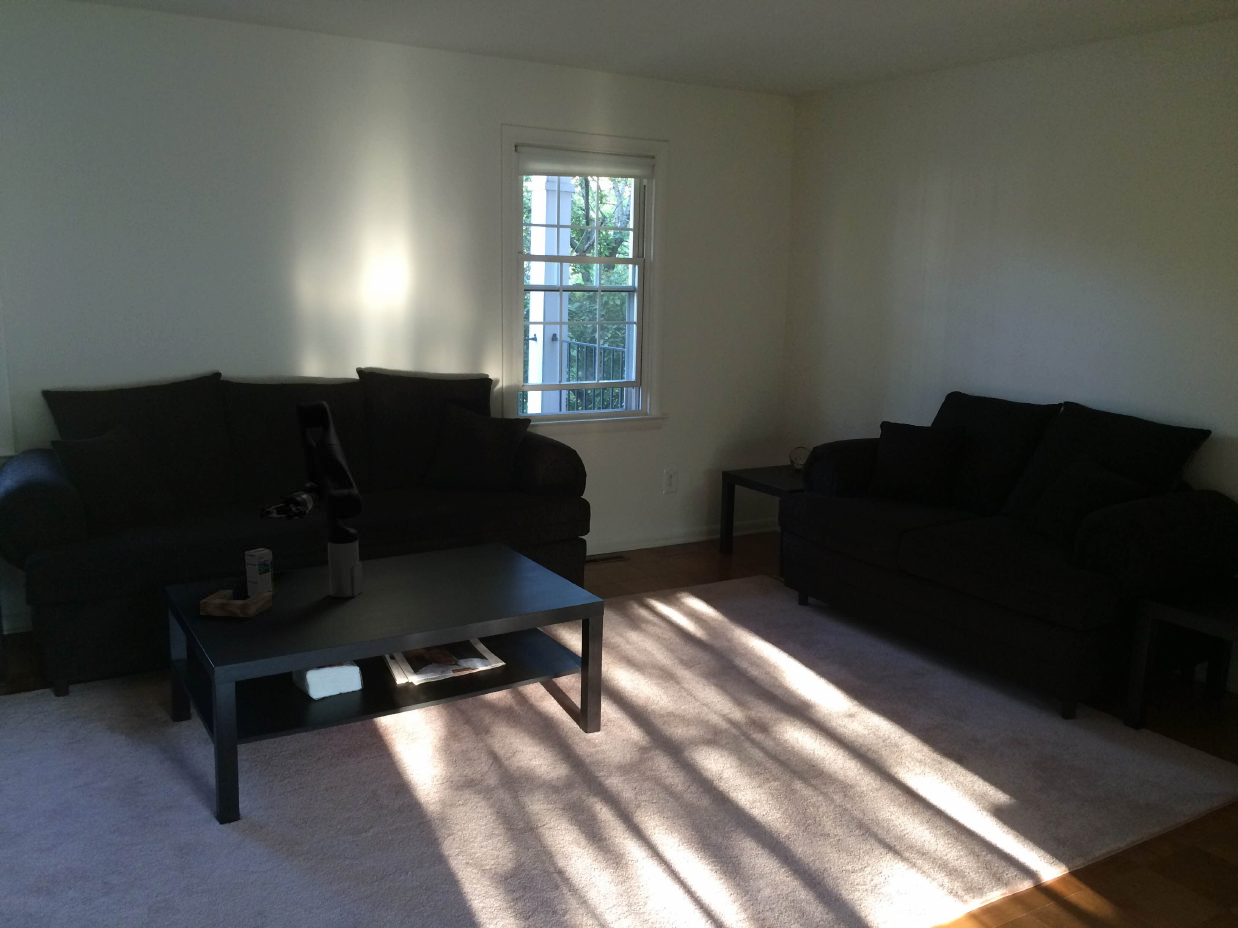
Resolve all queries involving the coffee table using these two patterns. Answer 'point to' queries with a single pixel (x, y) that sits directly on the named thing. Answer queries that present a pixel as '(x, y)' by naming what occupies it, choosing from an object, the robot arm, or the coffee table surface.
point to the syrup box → (259, 571)
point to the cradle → (235, 604)
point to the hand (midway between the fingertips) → (275, 516)
